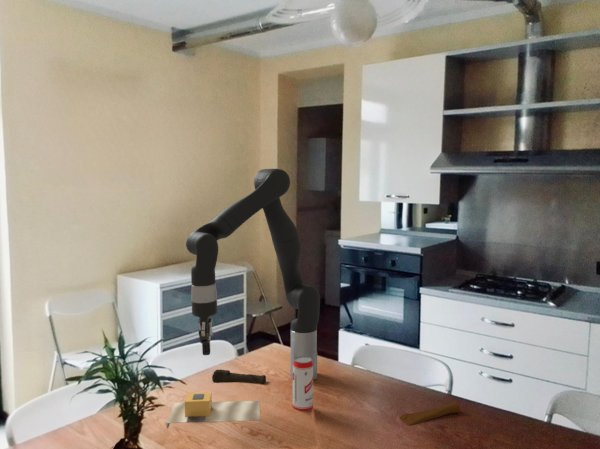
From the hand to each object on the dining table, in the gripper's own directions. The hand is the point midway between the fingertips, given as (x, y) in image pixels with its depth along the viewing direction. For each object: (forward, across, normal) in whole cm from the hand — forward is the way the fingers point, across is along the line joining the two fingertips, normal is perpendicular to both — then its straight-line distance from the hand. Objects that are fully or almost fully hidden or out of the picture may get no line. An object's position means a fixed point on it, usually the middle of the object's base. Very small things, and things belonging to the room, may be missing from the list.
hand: (206, 354), depth 144 cm
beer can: (+18, -5, -29) cm, 34 cm away
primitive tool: (+19, -11, -66) cm, 70 cm away
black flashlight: (+18, +15, -8) cm, 25 cm away
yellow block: (+15, -6, +2) cm, 16 cm away
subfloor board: (+17, -6, -3) cm, 18 cm away
